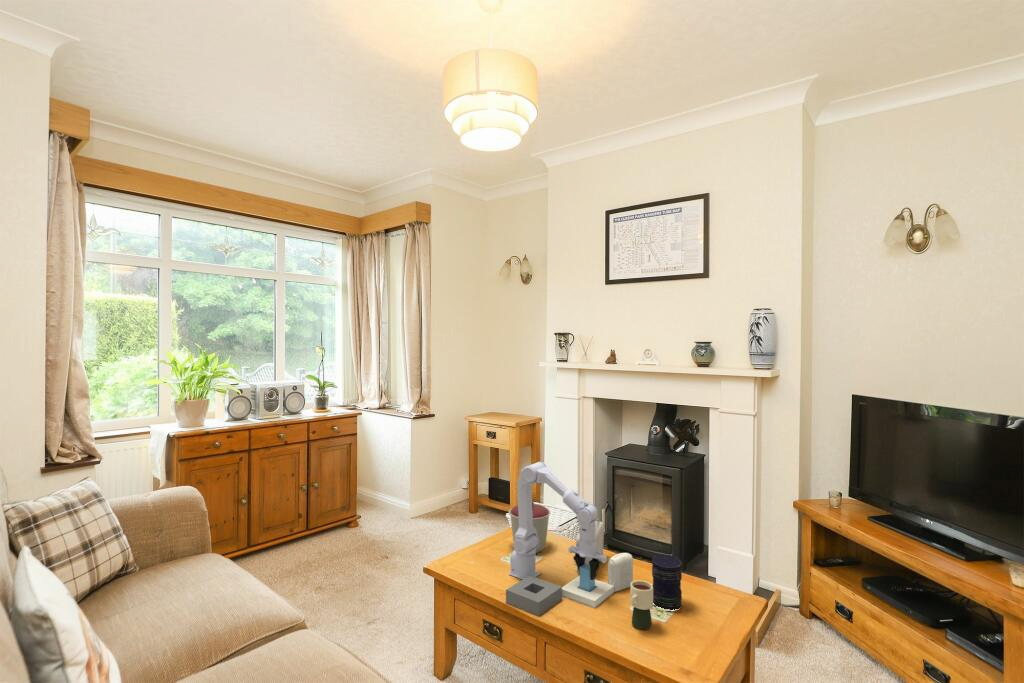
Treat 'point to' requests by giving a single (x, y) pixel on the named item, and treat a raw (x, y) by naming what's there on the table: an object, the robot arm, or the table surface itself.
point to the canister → (539, 523)
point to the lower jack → (585, 597)
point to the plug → (586, 578)
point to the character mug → (641, 603)
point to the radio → (598, 540)
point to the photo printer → (620, 571)
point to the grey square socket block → (534, 595)
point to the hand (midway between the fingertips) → (587, 577)
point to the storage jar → (667, 582)
